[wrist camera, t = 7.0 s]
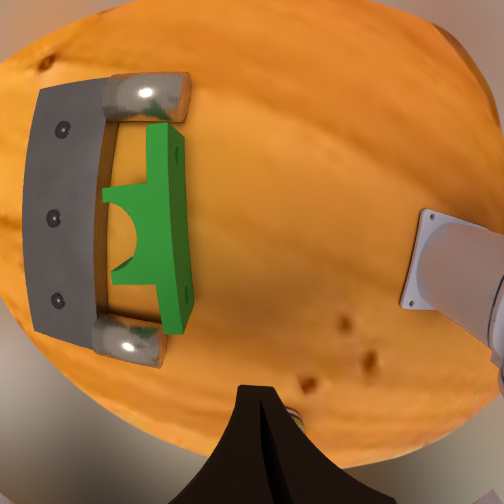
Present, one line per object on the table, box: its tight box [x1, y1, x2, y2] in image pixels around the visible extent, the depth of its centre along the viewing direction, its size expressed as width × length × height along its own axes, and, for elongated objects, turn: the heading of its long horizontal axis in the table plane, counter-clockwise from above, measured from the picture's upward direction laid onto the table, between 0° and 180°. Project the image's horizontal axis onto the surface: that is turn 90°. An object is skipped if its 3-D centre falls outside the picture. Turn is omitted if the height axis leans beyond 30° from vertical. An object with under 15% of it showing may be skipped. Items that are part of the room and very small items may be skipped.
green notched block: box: [102, 122, 194, 334], centre depth 15 cm, size 11×4×5 cm, turn 2°
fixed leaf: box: [22, 72, 191, 369], centre depth 15 cm, size 12×19×3 cm, turn 172°
